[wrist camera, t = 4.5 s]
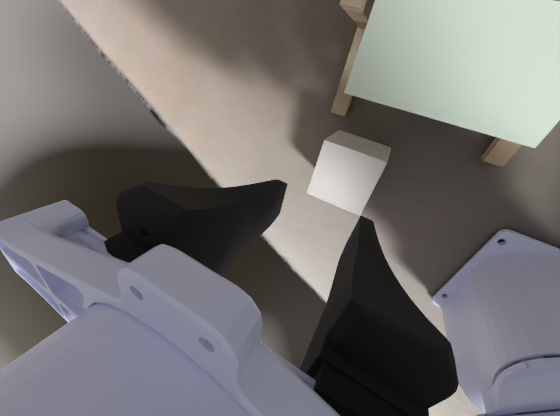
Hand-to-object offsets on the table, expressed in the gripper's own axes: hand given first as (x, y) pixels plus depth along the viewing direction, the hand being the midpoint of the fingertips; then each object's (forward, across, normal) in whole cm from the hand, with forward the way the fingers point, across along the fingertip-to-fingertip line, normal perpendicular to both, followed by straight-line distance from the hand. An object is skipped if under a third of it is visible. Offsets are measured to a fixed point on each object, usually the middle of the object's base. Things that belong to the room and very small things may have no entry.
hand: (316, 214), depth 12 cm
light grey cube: (+10, 0, 0) cm, 10 cm away
